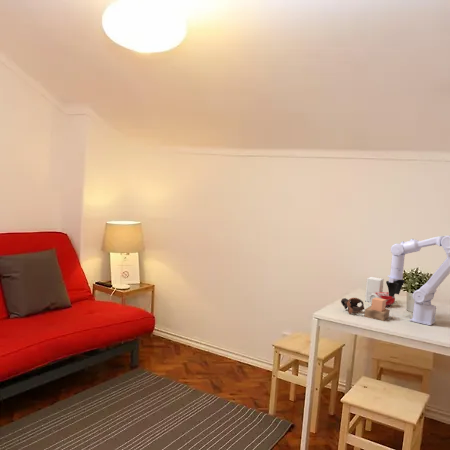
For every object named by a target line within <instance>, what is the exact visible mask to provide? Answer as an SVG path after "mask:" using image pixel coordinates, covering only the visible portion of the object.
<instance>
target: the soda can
mask: <svg viewBox="0 0 450 450" xmlns="http://www.w3.org/2000/svg"><path fill="white" fill-rule="evenodd" d="M395 296H396V295H394V297H391V296H389V291H385V292H384V291H383V292H378V293H372V294H371V296H370V302H369V303H370V304H371V305H372V299H373V298H376V297H377V298H381V299H386V306H387V307H388V306H391V305H394V304H395V302H396V297H395Z"/></svg>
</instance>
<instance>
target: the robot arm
mask: <svg viewBox="0 0 450 450" xmlns="http://www.w3.org/2000/svg"><path fill="white" fill-rule="evenodd" d="M430 246H438V247H442V249H443V251H444V252H445V255H446V259H444V261H443V262H442V263H441V265H440V266H439V267H438V268H437V269H436V270H435V272H434V273H433V274H432V275H431V277H430V278H429V279H428V280H427V281H426V283H424V284H423V285H422V286H420V288H419V289H416V290H415V291H414V292H412V300H414V303H413V309H412V310H413V312H412V318H410V319H409V321H410V322H414V323H417V324H422V325H426V326H427V325H428V326H432V325H433V324H434V323H436V312H437V307H436V305H435V304H432V300H433V299H434V297H435V294H436V293H437V289H438V287H440V286H441V284H442V283H443V282H444V281H445V279H446V278H447V277H448V276H449V275H450V235H441V236H440V235H439V236H434V237H431V238H426V239H423V240H419V239H416V238H415V239H414V238H410V240H408V241H401V242H400V243H394V244H392V246H390V253H391V264H390V273H389V274H388V275H387V278H388V280H386V283H385V284H386V286H387V288H388V291H387V292H389V296H391V297H394V296H396V295H400V293H401V290H402V287H403V285H404V283H405V282H406V280H405V279H404V275H403V274H404V265H405V255H407V254H412V253H417V252H420V250H422V248H426V247H430Z"/></svg>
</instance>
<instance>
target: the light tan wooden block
mask: <svg viewBox="0 0 450 450" xmlns="http://www.w3.org/2000/svg"><path fill="white" fill-rule="evenodd" d="M371 306H372V305H370V306H368V307H366V308H364V318H368V319H372V320H376V321H382V322H385V321H386V320H387V319H389V317H390V311H391V310H390V309H387V308H385V310H384V311H382V312H381V311H377V310H372V309H371Z"/></svg>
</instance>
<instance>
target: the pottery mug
mask: <svg viewBox="0 0 450 450" xmlns="http://www.w3.org/2000/svg"><path fill="white" fill-rule="evenodd" d="M340 303H341V305H342V306H343V307H344V309H345V310H347V313H348V314H349V315H352V314H356V313H357V314H358V313H361V312H362V311H363V310H365V306H364V301H363V300H362V299H360V298H357V297H351V298H349V299H348V298H346V297H345V298H341V300H340ZM360 303H361V305H360V306H358V305H359V304H360Z"/></svg>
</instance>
